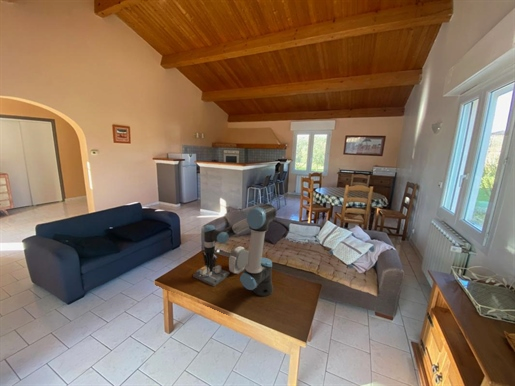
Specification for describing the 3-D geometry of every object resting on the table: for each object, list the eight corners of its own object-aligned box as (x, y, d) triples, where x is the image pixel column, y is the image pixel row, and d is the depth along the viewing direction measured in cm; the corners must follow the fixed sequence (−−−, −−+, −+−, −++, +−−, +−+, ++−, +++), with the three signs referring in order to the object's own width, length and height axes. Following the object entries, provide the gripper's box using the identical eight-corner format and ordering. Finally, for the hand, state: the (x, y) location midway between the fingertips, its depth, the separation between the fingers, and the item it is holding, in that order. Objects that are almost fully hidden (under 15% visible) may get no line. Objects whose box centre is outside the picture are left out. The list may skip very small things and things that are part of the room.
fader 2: (221, 271, 171) (221, 266, 170) (217, 273, 168) (217, 268, 167) (218, 270, 173) (218, 264, 172) (214, 272, 170) (214, 267, 169)
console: (229, 274, 171) (229, 270, 171) (214, 286, 156) (214, 282, 156) (209, 266, 182) (209, 262, 181) (193, 276, 167) (193, 272, 166)
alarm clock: (241, 264, 187) (242, 242, 183) (249, 267, 183) (250, 245, 178) (227, 273, 173) (227, 250, 169) (235, 277, 168) (236, 253, 164)
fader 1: (206, 272, 169) (206, 267, 168) (203, 275, 165) (203, 269, 164) (204, 271, 170) (203, 266, 169) (200, 273, 167) (200, 268, 166)
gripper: (219, 246, 159) (219, 275, 164) (206, 241, 166) (207, 270, 170) (212, 250, 153) (213, 280, 158) (199, 245, 159) (200, 274, 164)
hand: (210, 274), depth 164 cm, fingers closed
